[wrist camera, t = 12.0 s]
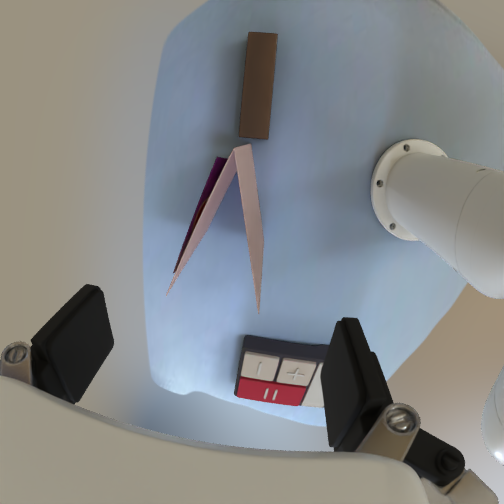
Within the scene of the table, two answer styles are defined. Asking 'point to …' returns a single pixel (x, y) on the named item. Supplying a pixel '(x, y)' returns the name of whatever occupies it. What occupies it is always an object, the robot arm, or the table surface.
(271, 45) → the walnut bar
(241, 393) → the calculator
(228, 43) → the table surface
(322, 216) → the table surface
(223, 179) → the greeting card
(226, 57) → the table surface
